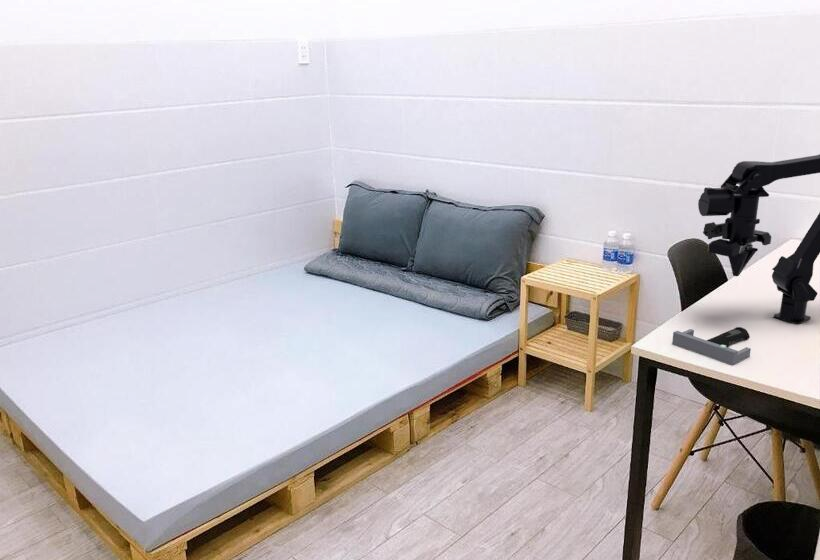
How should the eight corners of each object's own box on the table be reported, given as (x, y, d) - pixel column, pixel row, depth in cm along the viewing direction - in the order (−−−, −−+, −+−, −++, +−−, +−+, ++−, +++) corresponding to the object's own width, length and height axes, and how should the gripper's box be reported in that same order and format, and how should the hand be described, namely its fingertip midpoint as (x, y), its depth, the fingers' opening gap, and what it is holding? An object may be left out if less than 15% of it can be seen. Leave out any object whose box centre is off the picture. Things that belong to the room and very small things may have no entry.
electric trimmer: (695, 351, 158) (696, 338, 157) (736, 334, 165) (737, 322, 164) (709, 356, 155) (711, 344, 154) (750, 340, 162) (752, 327, 161)
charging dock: (689, 336, 165) (690, 323, 163) (749, 356, 153) (751, 342, 152) (672, 343, 161) (673, 330, 160) (732, 365, 149) (734, 351, 148)
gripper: (733, 204, 176) (726, 261, 181) (691, 215, 166) (684, 275, 171) (776, 211, 168) (767, 271, 172) (734, 222, 157) (726, 286, 162)
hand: (735, 275), depth 170 cm, fingers closed
